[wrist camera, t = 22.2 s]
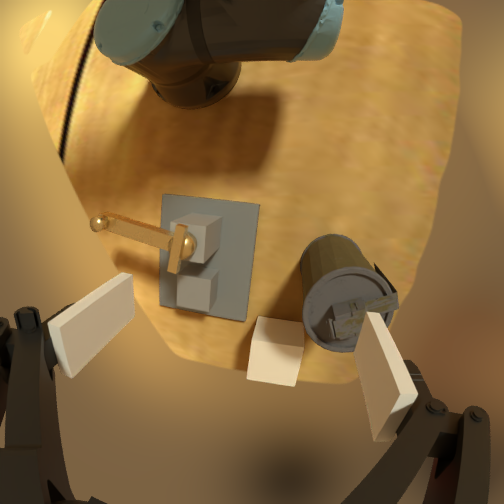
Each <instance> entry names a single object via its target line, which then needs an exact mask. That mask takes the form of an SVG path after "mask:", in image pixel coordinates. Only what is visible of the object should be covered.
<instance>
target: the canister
mask: <svg viewBox="0 0 504 504" xmlns="http://www.w3.org/2000/svg"><path fill="white" fill-rule="evenodd" d="M374 266H375V270H374V269H373V267H372V266H371V265H370V263H369V262H368V261H367V260H366V258H365V257H364V256H363V255H362V253H361V251H360V249H359V247H358V246H357V244H356V243H355V242H354V241H352V240H351V239H349V238H348V237H346V236H343V235H338V234H328V235H324V236H321V237H319V238H317V239H315V240H314V241H312V242H311V243H310V244H309V245H308V247H307V248H306V249H305V251H304V253H303V255H302V258H301V264H300V269H301V274H302V283H303V309H302V319H303V324H304V327H305V329H306V332H307V334H308V335H309V336H310V337H311V339H312V340H313V341H314V342H315V343H316V344H317V345H319V346H321V347H322V348H324V349H327V350H330V351H334V352H342V353H343V352H354V351H355V348H356V344H357V341H358V338H359V335H360V332H361V328H362V325H363V322H364V318H365V315H366V312H375V313H380V315H381V317H382V319H383V321H384V323H385V325H386V327H387V328H388V326H389V324H390V323H391V320H392V317H393V312H394V310H397V309H399V303H398V295H397V291H396V289H395V288H394V287H393V286H392V284H391V283H390V282H389V280H388V279H387V278H386V277H385V275H384V274H383V273H382V272H381V271H380V269H379V268H378V267H377V266H376V264H375V263H374Z"/></svg>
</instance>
